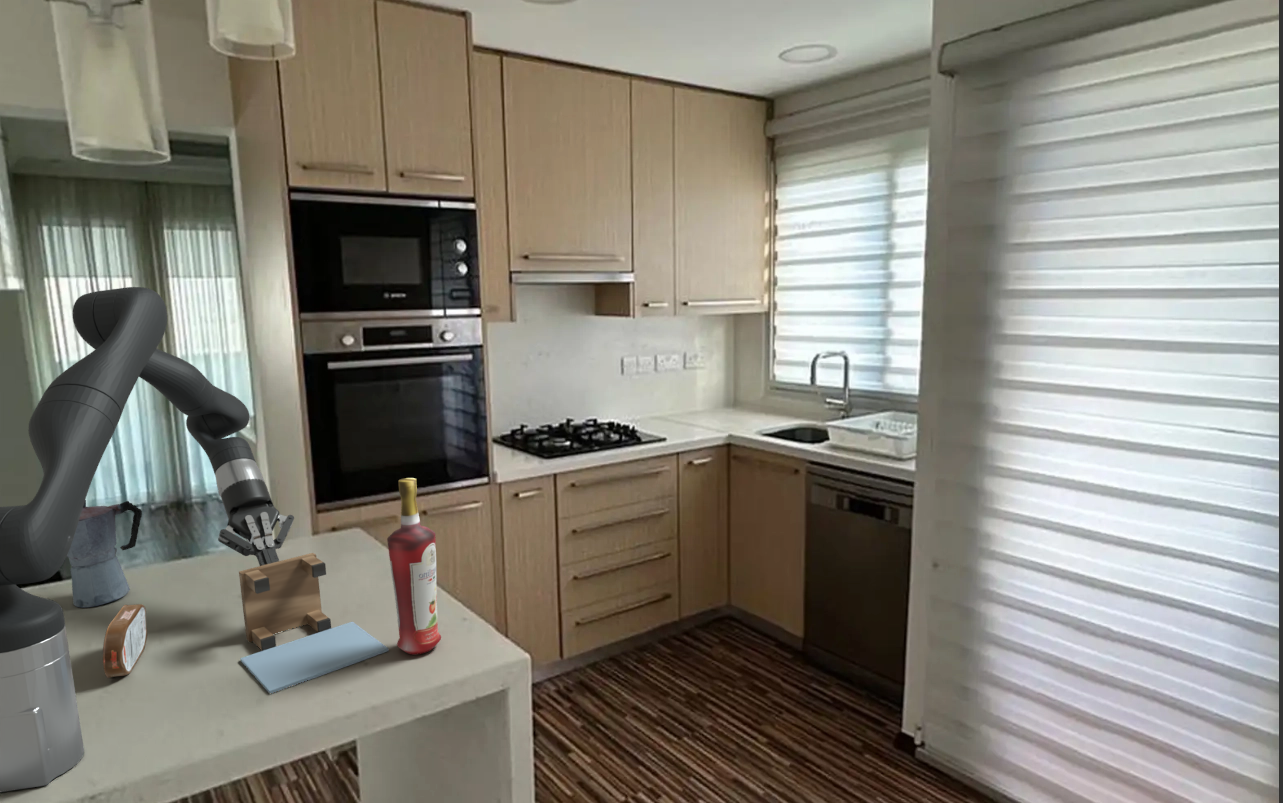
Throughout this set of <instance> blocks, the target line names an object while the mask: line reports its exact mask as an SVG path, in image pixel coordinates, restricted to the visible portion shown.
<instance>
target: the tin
mask: <svg viewBox="0 0 1283 803" xmlns="http://www.w3.org/2000/svg"><path fill="white" fill-rule="evenodd" d="M147 638H148V628H147V609H146V606H145V605H144V604H142V603H140V604H139V603H138V604H137V603H136V604H123V606H121V608H120V610H118V612H117V613H116V615H115V616H114V618H113V619H112V620H111V621H110V623H109V624H108V626H107V629H106V631H105V634H104V638H103V639H104V640H103V644H102V645H103V646H102V665H103V672H104V674H105V675H104V676H106V678H107V679H111V678H115V677H123V676H127V675H130V673H132V671H133V670H134V668H135V666H136V664H137V662H138V661H139V659H140V658H141V656H142V655H143V652H144V650H145V647H146V645H147V644H146V643H147Z"/></svg>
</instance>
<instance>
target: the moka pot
mask: <svg viewBox="0 0 1283 803" xmlns="http://www.w3.org/2000/svg"><path fill="white" fill-rule="evenodd" d="M127 511H131V512H133V516H132V524H131V532H130V535H131V536H130V538H129V541H128V543H127V544H123V545H121V546H120V547H119V548H120V549H121V551H126V550H129V549H133V548H135V547H136V543H137V539H138V533H139V529H140V525H141V520H142V517H143V516H142V515H143V513H142V512H143V511H142V509H141V508H139V507H138V506H137V505H134V504H133V502H130V501H129V500H126V501H124V502H121V503H117V504H111V505H109V506H108V505H97V506H96V505H95V506H87V500H86V499H85V503H84V506H83V509H82V512H81V515H80V519H79V522H78V525H77V528H76V532H75V535H74V538H73V541H72V544H71V547H70V550H69V552H68V554H67V557H66V558H68V560H69V564H70V565H71V568H70V570H69V571H70V575H71V588H72V589H71V590H72V602H73V603H72V605H73V606H74V607H76V608H83V609H85V608H92V607H98V606H99V607H100V606H102V605H105V604H109V603H112V602H115V601H117V600H119V599H121V598H124V597H125V596H127V595H128V594H129V592H130V590H131V589H130V586H129V584H128V580H127V578H126V575H125V573H124V570H123V568H122V565H121V562H120V561H119V558H118V556H117V551H118V548H117V547H116V545H117V532H116V531H117V529H116V527H117V526H116V515H120V514H124V513H126V512H127Z"/></svg>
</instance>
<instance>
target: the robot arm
mask: <svg viewBox="0 0 1283 803" xmlns="http://www.w3.org/2000/svg"><path fill="white" fill-rule="evenodd" d="M72 306H73V307H72V322H73V325H74V327H75V330H76V331H77V333H78V335H79V336H80V337H81V339H82V340H83V341H84V342H85V343H86V344H88V345H89V347H91V348H93V349H94V350H92V351H91V352H90V353H88V354H87V355H86V356H84V357H82V358H81V359H79V360H78V361H77V362H75V363H73V365H71V366H70V367H68V368H66V369H65V370H64V371H63V372H62V373H60V374H59V375H58V376H56V378H55V379H54V380H53V381H51V383H50V384H49V386H47V388H46V389H45V391H44V393H43V394H42V396H41V398H40V399H39V401H38V403H37V405H36V407H35V409H34V411H33V413H32V414H31V417H30V419H29V423H28V429H27V430H28V437H29V440H30V443H31V446H32V449H33V451H34V453H35V455H36V457H37V459H38V461H39V463H40V465H41V469H42V472H43V478H42V480H41V483H40V486H39V488H38V491H37V492H36V494H35V496H34V497H33V498H32V500H30V501H29V502H28V503H27V504H23V505H8V506H7V505H6V506H0V793H5V792H10V791H17V790H23V789H30V788H35V787H44V786H47V785H49V784H50V783H51V782H52V781H53V779H56V778H58V777H59V776H61V775H63V774H64V773H66V772H68V771H69V770H70V769H72V768H74V767H75V766H76V765H77V764H78V763H79V762H80V761H81V760H82V759H83V757H84V754H85V747H84V740H83V734H82V729H81V728H82V727H81V722H80V720H81V719H80V714H79V709H78V708H79V707H78V701H77V695H76V688H75V682H74V675H73V674H74V673H73V668H72V662H71V655H70V654H71V653H70V648H69V640H68V633H67V628H66V621H65V615H64V614H65V613H64V610H63V607H62V606H61V605H60V603H58V602H57V601H54V600H52V599H50V598H45V597H41V596H37V595H35V594H32V593H30V592H28V591H25V590H24V589H22V588H20V587H19V586H17V585H24V584H32V583H39V582H43V581H46V580H48V579H50V578H51V577H53V576H55V574H57V572H58V571H59V570H60V569H61V567H62V566H63V564H64V563H65V561H66V559H67V558H68V557H67V554H68V552H69V550H70V547H71V544H72V541H73V538H74V535H75V532H76V528H77V525H78V522H79V519H80V515H81V512H82V509H83V506H84V503H85V500H86V499H87V495H88V493H89V489H90V487H91V485H92V482H93V479H94V477H95V474H96V472H97V469H98V467H99V464H100V463H101V460H102V458H103V457H104V456H103V455H104V453H105V451H106V449H107V447H108V445H109V444H110V441H111V440H112V437H113V435H114V434H115V431H116V429H117V427H118V424H119V422H120V419H121V418H122V414H123V411H124V409H125V406H126V404H127V402H128V400H129V398H130V395H131V394H132V391H133V389H134V388H135V385H136V383H137V381H138V380H139V378H140V379H142V380H143V381H144V382H146V383H148V384H149V385H151V386H152V387H153V388H154V389H156V390H157V391H158V392H159V393H160V394H162V395H163V396H164V397H165V399H167V401H169V403H171V404H172V405H173V406H174V407H175V409H177V410H178V411H179V412H181V413H182V414H184V415H185V416H187V417H186V419H185V420H186V421H185V424H186V428H187V431H188V432H189V434H190V435H191V436H192V438H194V440H195V441H196V442H197V443H198V445H199V446H200V447H201V448H202V449H203V451H204V452H205V455H206V456H207V457H208V459H209V462H210V464H211V467H212V470H213V473H214V476H215V481H216V487H217V490H218V495H219V496H220V498H221V501H222V504H223V507H224V509H225V510H224V511H225V513H226V516H227V519H228V521H227V526H226V527H225V528H222V529H220V531H219V534H218V537H217V541H218V542H220V543H221V544H223V545H225V546H226V547H228V548H230V549H232V550H233V551H235V552H237V553H238V554H241V555H243V556H244V557H248V556H255V557H256V559H257V562H258V564H259V566H263V565H266V564H270V563H274V562H278V561H280V559H279V556H278V554H277V551H276V550H277V549H278V550H279V549H281V548H282V546H283V545H284V543H285V540H286V538H287V536H288V534H289V532H290V530H291V528H292V525H293V524H294V523H293V522H294V520H295V516H294V515H293V514H289V515H287V516H286V515H284V514H281V513H280V511H279V509H277V508H276V506H274V502H273V500H272V497H271V495H270V492H269V490H268V487H267V484H266V481H265V479H264V476H263V474H262V471H261V469H260V468H259V466H258V463H257V462H256V459H255V456H254V454H253V451H252V449H251V446H250V444H249V442H248V441H247V440H246V439H245V438H243V437H239V436H232V435H233V434H235V433H238V432H239V431H240V432H241V431H242V430H244V429H245V428H246V427H247V426H248V425H249V422H250V419H251V418H250V412H249V410H248V408H247V406H246V405H245V404H244V402H243V401H242V400H240V399H239V398H238V397H237V396H234V394H233V395H232V393H229V392H227V391H225V390H223V389H221V388H219V387H217V386H215V385H214V384H212V383H211V382H210V380H208V378H206V376H205V375H204V374H203V373H202V372H201V371H200V370H199V369H198V368H197V367H196V366H194V365H193V364H191V363H190V362H188V361H186V360H184V359H183V358H180V357H179V356H176V355H173V354H171V353H168V352H166V351H163V350H161V349H159V348H158V346H159V345H160V343H161V341H162V340H163V337H164V335H165V332H166V329H167V324H168V313H167V312H168V311H167V307H166V304H165V301H164V299H163V297H161V295H160V294H158V292H156V291H155V290H153V289H150V288H148V287H144V286H143V287H142V286H129V287H128V286H127V287H121V288H113V289H105V290H98V291H93V292H89V293H84V294H82V295H80V296H79V297H78V298H77V299H76V300H75V301H74V304H73V305H72ZM229 436H230V437H229ZM277 522H278V528H280V531H279V532H278V534H277V537H276V538H274V537H273V531H274V529H275V527H276V524H277Z"/></svg>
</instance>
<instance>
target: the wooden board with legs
mask: <svg viewBox="0 0 1283 803" xmlns="http://www.w3.org/2000/svg"><path fill="white" fill-rule="evenodd" d="M238 574H239V575H238V577H239V584H240V595H241V603H242V611H243V612H242V613H243V619H244V620H243V622H244V628H245V629H244V630H245V637H246V638H245V639H247V640H248V641H249V642H250V643H253V644H254V645H255V644H256V645H257V646H258V647H259V648H260V649H261V650H262V651H264V650H267V649H270V648H273V647H276V646H277V642H276V636H275V635H276V634H275V633H278V632H281V631H285V630H288V629H291V630H293V629H292V628H294V629H297V628H300V627H299V626H301V627H303V626H302V625H304V626H306V625H308V626H309V627H311V628H312V629H313V630H314V631H316V633H319V632H322V631H325V630H328V629H331V628H332V622H331V621H332V620H331V618H330V617H329V616H328V615H326V614H325V613H324V612H323V611H322V603H321V602H322V601H321V600H322V599H321V591H320V590H321V588H320V580H319V579H320V577H322V576H327V568H326V563H325V562H324V561H323V560H321V559H319V558H317V554H316V553H314V552H311V553H306V554H303V555H302V554H301V555H300V556H299V555H298V556H295V557H290V558H287V559H283V560H279V561H278V562H274V563H270V564H266V565H263V566H260V565H259V566H255V567H251V568H248V569H243V570H240V571H238ZM296 627H297V628H296ZM288 631H289V630H288ZM285 632H286V631H285ZM273 634H275V635H273ZM278 634H279V633H278ZM247 640H246V641H247ZM248 641H247V642H248ZM252 641H253V642H252ZM249 642H248V643H249ZM256 645H255V646H256ZM257 646H256V647H257ZM258 647H257V648H258ZM259 648H258V649H259ZM260 649H259V650H260ZM261 650H260V651H261Z"/></svg>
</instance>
